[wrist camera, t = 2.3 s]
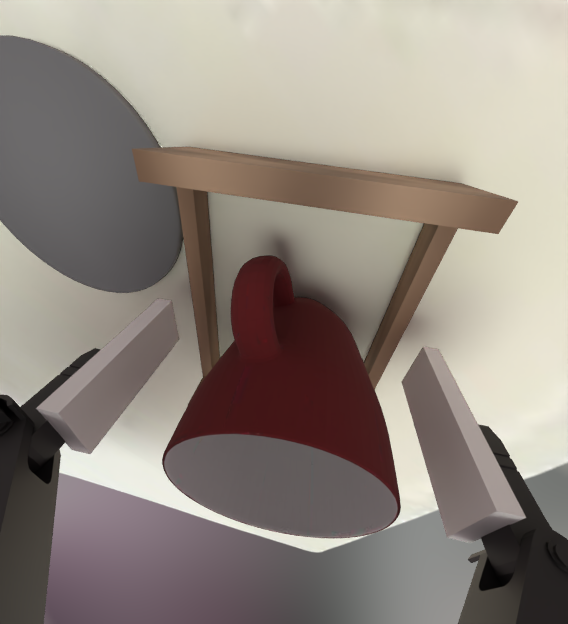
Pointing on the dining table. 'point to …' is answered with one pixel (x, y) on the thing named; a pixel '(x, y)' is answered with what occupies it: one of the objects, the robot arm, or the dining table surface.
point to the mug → (287, 421)
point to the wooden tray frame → (322, 194)
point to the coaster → (80, 173)
